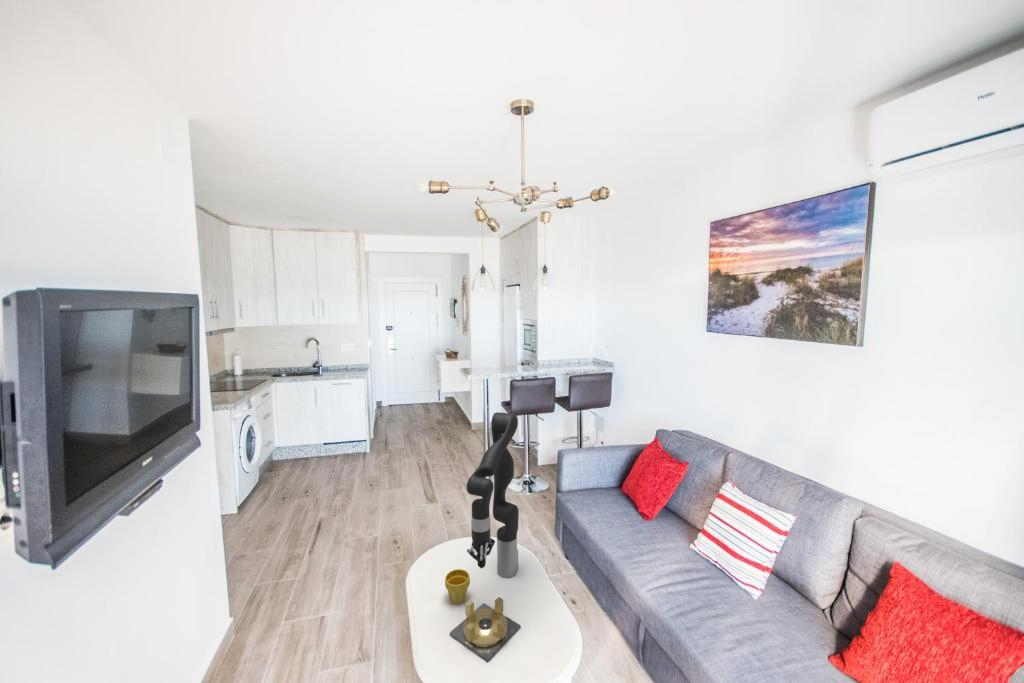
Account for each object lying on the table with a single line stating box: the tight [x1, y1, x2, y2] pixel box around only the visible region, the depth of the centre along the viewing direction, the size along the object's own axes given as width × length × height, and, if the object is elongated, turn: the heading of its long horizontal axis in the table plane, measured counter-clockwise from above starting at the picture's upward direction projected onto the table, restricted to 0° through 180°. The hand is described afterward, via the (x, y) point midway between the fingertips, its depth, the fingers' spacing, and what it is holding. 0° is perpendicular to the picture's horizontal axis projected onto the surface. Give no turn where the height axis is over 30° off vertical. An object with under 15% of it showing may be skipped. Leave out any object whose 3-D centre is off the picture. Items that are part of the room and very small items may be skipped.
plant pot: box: [444, 568, 471, 605], centre depth 174 cm, size 10×10×10 cm
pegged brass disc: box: [463, 596, 508, 647], centre depth 157 cm, size 19×19×6 cm
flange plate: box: [449, 602, 522, 663], centre depth 157 cm, size 19×19×1 cm
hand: (481, 566), depth 166 cm, fingers closed
